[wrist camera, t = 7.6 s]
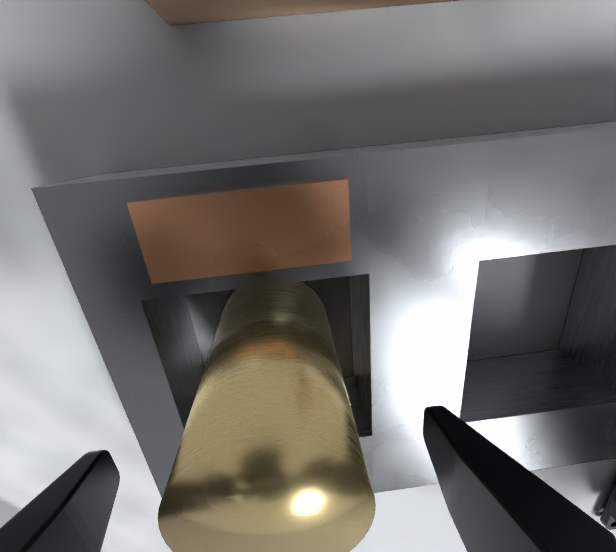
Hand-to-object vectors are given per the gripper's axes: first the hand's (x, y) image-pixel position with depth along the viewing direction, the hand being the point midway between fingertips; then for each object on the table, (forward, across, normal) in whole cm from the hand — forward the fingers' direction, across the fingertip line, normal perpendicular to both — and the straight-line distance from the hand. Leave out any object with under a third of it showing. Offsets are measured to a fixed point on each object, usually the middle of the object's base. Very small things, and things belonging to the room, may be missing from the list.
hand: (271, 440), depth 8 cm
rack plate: (+5, -4, 0) cm, 7 cm away
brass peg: (+5, 0, 0) cm, 5 cm away
